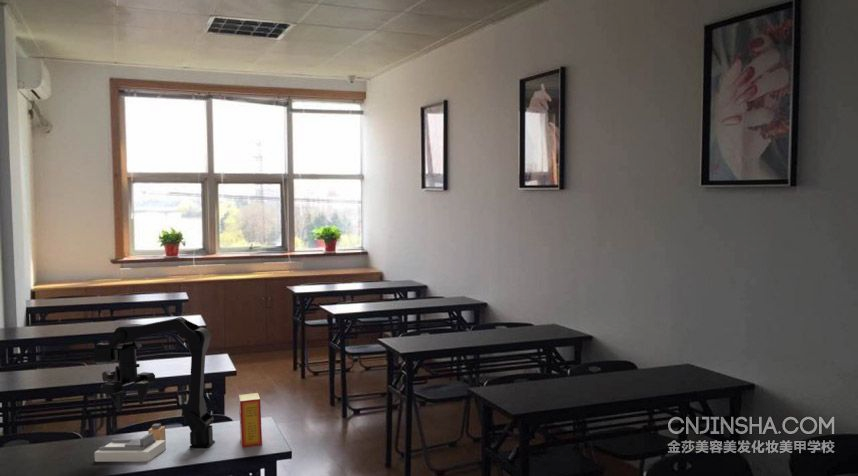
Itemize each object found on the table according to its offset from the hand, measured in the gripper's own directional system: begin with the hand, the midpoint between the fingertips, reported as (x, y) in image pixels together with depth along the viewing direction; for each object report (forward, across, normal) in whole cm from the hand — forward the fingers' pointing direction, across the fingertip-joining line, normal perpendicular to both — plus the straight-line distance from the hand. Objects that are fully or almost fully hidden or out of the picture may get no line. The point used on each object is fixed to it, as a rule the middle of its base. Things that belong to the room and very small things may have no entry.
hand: (130, 407), depth 239 cm
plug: (+14, -4, +7) cm, 16 cm away
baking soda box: (+15, -17, +36) cm, 43 cm away
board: (+14, +7, +6) cm, 16 cm away
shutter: (+10, +6, +9) cm, 15 cm away
